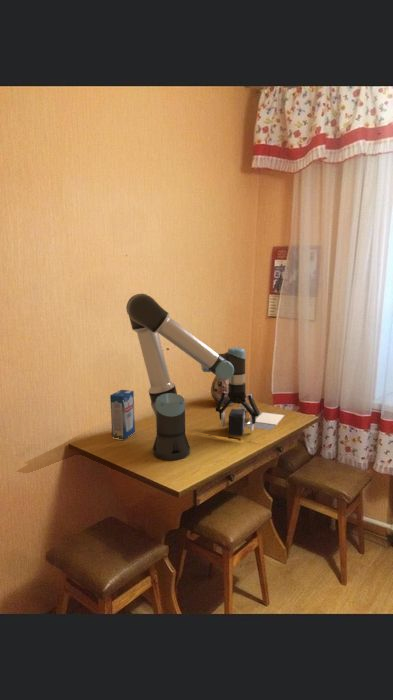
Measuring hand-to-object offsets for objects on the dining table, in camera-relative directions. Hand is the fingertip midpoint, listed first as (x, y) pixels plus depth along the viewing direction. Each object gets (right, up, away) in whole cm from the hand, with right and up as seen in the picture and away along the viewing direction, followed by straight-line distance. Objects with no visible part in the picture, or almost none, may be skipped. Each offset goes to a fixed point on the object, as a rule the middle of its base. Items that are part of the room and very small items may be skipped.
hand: (237, 428), depth 193 cm
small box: (0, -3, 0) cm, 3 cm away
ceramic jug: (-2, +5, +47) cm, 47 cm away
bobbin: (+5, +1, +11) cm, 12 cm away
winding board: (+12, 0, +16) cm, 20 cm away
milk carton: (-51, -4, +1) cm, 51 cm away
